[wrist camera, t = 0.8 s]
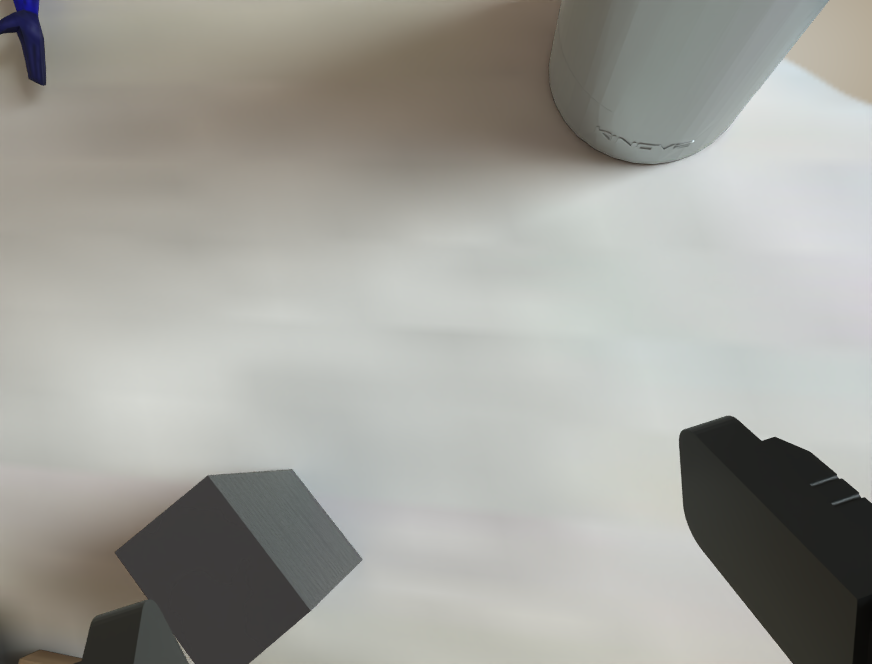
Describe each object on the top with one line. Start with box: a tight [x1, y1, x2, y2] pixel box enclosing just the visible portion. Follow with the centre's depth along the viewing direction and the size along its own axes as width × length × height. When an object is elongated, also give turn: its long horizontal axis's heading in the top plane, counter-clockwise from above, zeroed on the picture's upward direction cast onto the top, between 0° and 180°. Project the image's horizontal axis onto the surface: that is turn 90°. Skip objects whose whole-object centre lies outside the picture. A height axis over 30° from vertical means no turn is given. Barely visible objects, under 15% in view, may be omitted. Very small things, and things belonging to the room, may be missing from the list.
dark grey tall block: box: [115, 469, 363, 664], centre depth 27 cm, size 5×4×11 cm
